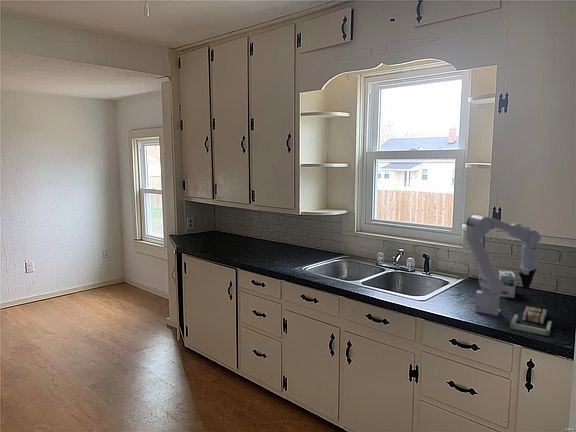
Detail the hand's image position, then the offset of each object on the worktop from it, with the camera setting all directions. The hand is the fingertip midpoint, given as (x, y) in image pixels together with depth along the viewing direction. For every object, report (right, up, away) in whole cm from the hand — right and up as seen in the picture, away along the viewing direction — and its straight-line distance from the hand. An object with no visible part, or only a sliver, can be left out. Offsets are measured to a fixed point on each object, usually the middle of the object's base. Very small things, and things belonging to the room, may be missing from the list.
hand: (527, 286), depth 191 cm
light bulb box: (+2, -8, +22) cm, 24 cm away
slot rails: (-1, -12, -8) cm, 14 cm away
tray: (-8, -14, -17) cm, 24 cm away
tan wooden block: (-3, -13, -11) cm, 17 cm away
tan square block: (0, -12, -6) cm, 13 cm away
